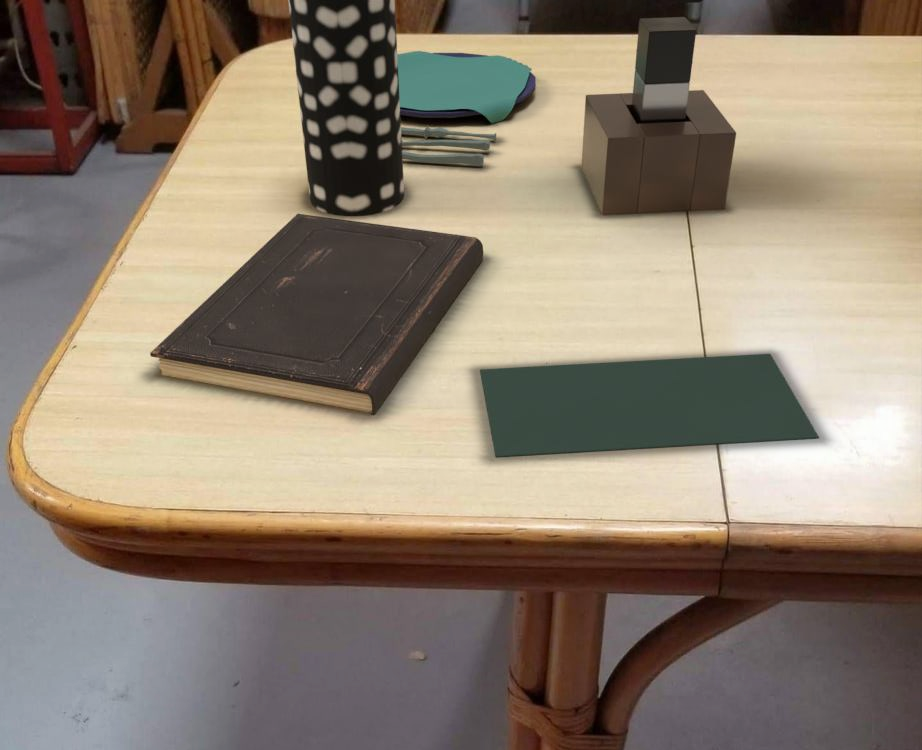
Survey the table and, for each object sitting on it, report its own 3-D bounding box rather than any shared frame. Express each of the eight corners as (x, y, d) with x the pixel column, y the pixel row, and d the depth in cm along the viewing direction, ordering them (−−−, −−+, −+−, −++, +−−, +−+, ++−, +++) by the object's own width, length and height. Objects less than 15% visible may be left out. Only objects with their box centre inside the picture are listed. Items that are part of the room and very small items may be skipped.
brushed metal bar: (665, 183, 97) (685, 16, 88) (675, 200, 94) (696, 30, 85) (624, 185, 97) (639, 18, 87) (632, 202, 94) (649, 31, 85)
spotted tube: (291, 202, 95) (260, -52, 82) (362, 175, 99) (343, -69, 86) (352, 230, 90) (330, -34, 77) (423, 200, 95) (414, -54, 82)
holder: (693, 167, 100) (703, 89, 95) (723, 215, 92) (736, 132, 87) (580, 172, 99) (585, 94, 94) (601, 220, 91) (608, 138, 86)
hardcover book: (156, 381, 72) (149, 352, 71) (300, 239, 89) (297, 213, 87) (375, 421, 69) (373, 391, 67) (483, 265, 85) (483, 237, 83)
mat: (768, 360, 74) (770, 353, 73) (817, 444, 66) (819, 436, 66) (479, 376, 73) (479, 369, 72) (495, 464, 65) (495, 455, 65)
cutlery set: (548, 75, 120) (549, 53, 119) (502, 178, 98) (502, 153, 97) (377, 65, 124) (376, 44, 122) (295, 163, 101) (292, 139, 100)
